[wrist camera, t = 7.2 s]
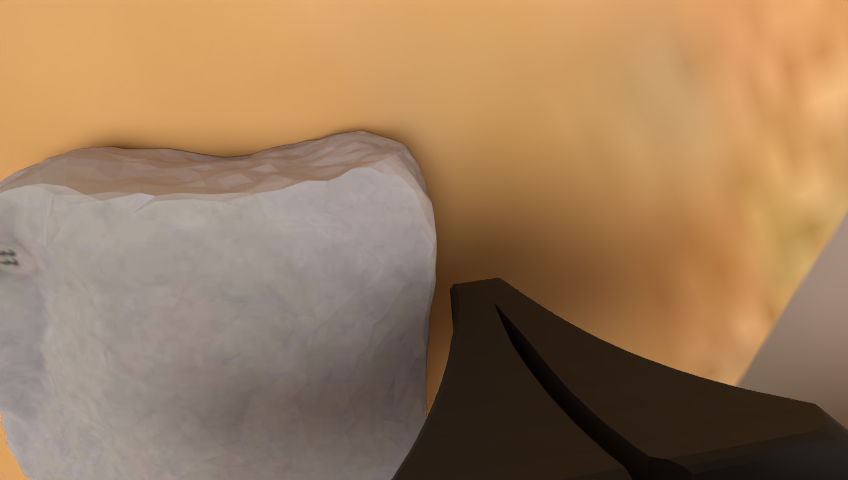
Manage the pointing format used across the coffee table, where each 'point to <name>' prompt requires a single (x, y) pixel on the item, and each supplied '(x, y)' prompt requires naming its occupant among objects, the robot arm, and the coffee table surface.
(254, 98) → the coffee table surface
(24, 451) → the stone block
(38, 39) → the coffee table surface
